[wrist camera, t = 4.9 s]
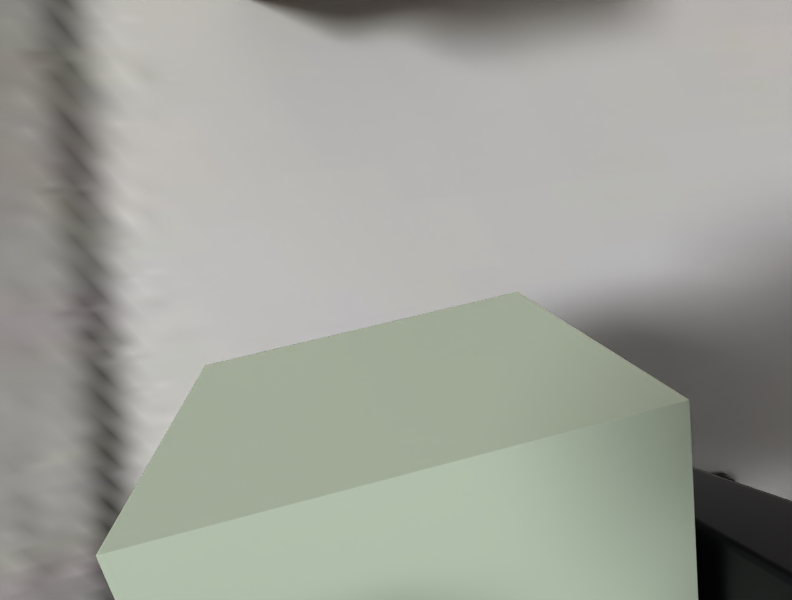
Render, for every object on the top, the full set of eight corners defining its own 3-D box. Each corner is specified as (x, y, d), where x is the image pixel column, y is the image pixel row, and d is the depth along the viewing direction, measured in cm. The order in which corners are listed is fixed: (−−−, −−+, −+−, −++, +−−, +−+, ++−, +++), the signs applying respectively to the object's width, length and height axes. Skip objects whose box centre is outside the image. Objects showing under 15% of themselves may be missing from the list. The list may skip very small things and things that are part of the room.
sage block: (517, 291, 8) (690, 398, 4) (552, 545, 10) (706, 795, 6) (205, 365, 8) (96, 555, 4) (287, 619, 9) (265, 943, 5)
